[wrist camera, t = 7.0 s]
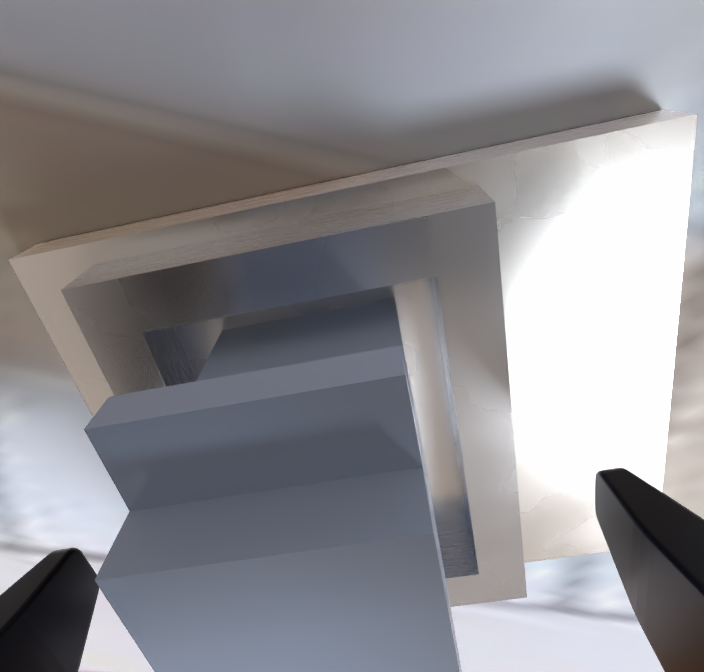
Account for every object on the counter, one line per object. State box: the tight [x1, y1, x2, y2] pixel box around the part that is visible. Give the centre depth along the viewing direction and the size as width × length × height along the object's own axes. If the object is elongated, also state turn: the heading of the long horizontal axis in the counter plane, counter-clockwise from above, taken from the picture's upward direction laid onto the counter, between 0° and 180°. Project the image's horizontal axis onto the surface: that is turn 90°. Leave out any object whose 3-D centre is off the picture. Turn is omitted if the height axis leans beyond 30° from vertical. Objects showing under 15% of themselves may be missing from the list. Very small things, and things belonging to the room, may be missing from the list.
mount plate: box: [8, 109, 697, 607], centre depth 11 cm, size 12×10×2 cm
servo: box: [84, 298, 462, 672], centre depth 8 cm, size 8×3×6 cm, turn 12°
